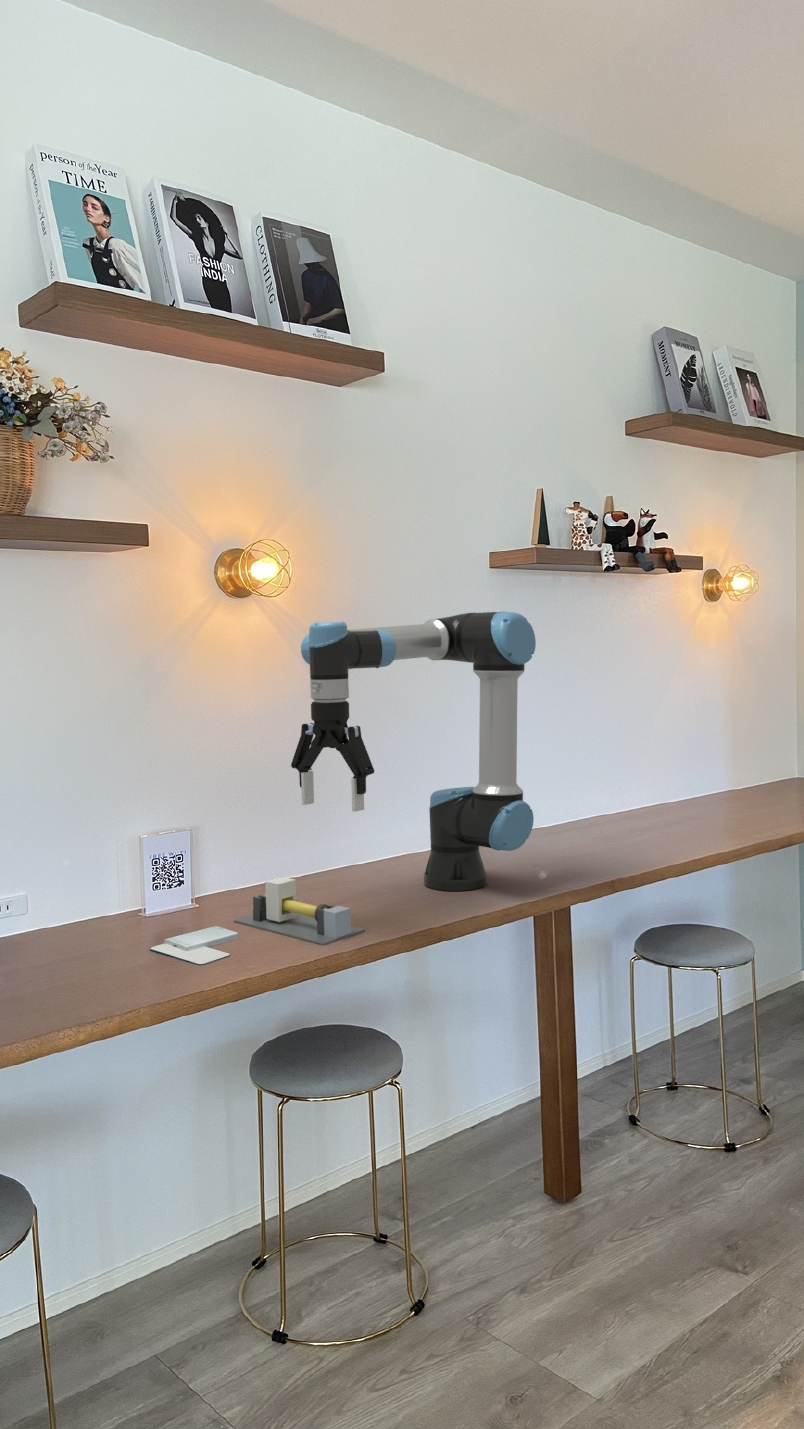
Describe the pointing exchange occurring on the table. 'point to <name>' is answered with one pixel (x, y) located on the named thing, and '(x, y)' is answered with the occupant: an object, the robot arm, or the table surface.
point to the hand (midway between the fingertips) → (332, 807)
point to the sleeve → (279, 898)
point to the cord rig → (304, 921)
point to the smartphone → (191, 954)
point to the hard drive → (202, 938)
